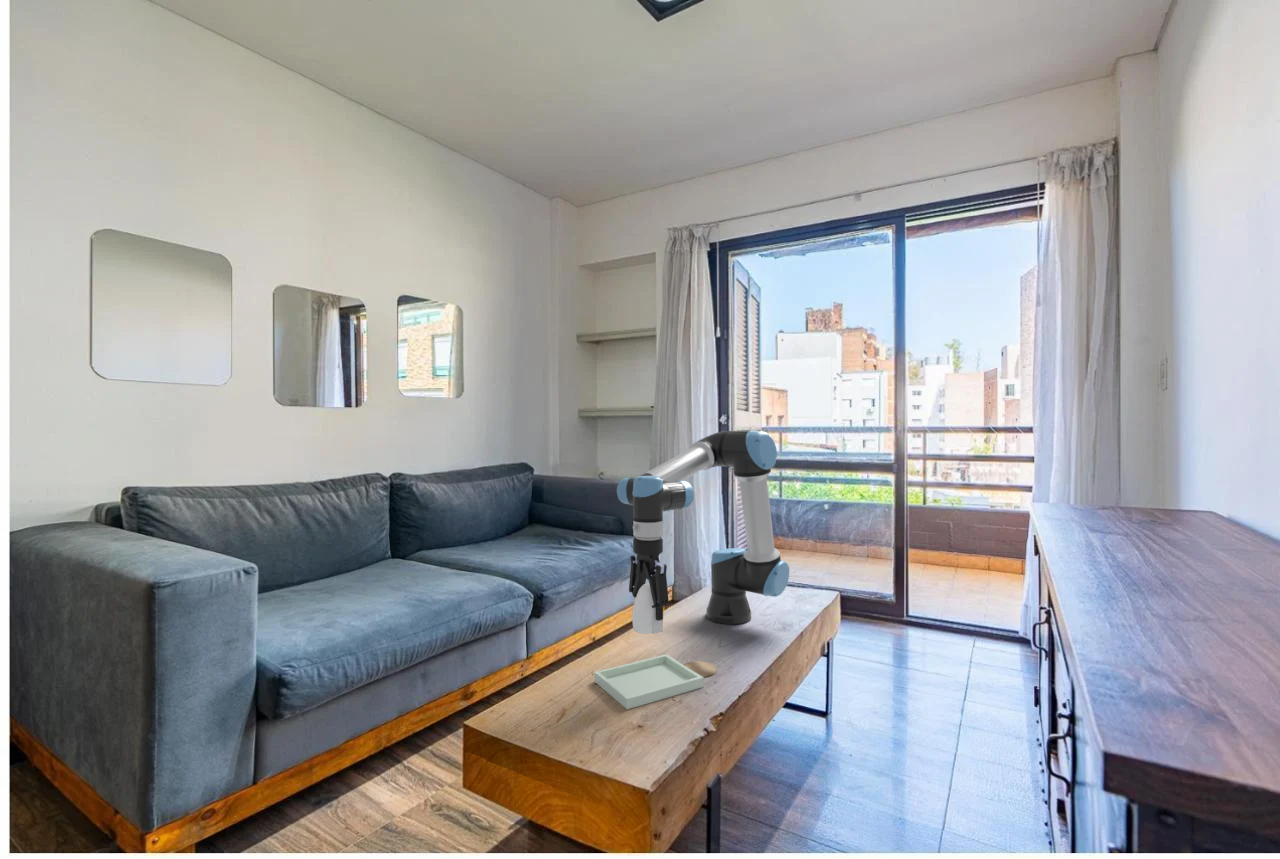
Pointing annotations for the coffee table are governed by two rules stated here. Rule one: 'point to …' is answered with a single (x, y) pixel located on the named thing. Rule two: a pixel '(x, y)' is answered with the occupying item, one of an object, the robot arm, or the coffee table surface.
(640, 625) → the figurine
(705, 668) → the metal coaster
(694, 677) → the tray
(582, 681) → the coffee table surface
